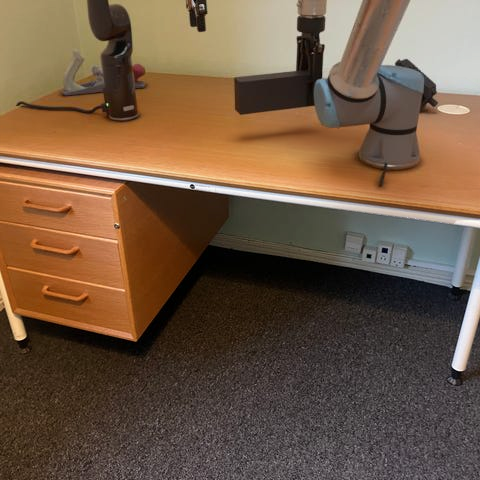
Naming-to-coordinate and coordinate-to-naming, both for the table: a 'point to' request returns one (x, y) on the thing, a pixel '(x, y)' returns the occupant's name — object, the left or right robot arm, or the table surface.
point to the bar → (271, 92)
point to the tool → (428, 84)
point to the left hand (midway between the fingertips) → (197, 29)
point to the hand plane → (95, 85)
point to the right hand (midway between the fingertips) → (307, 101)
